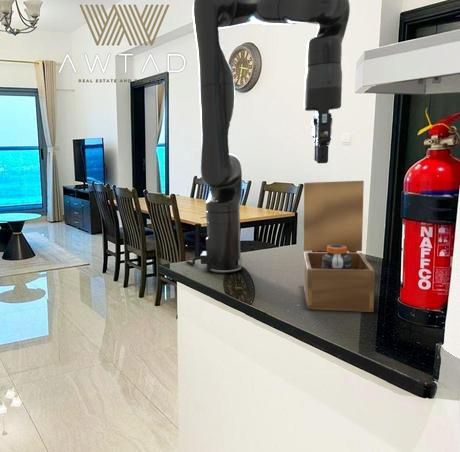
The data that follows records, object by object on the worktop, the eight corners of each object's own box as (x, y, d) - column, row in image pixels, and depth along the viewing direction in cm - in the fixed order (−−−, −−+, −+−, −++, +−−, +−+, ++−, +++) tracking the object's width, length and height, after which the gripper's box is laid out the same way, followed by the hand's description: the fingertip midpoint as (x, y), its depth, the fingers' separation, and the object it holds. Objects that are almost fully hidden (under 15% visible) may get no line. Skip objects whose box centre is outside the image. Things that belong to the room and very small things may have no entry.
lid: (363, 180, 103) (359, 178, 109) (304, 183, 107) (302, 180, 113) (361, 251, 107) (357, 245, 112) (303, 250, 111) (302, 244, 116)
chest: (373, 312, 94) (374, 270, 92) (307, 309, 98) (307, 269, 96) (360, 288, 108) (361, 252, 107) (303, 287, 112) (303, 252, 111)
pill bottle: (347, 300, 99) (348, 249, 97) (318, 296, 103) (318, 247, 101) (353, 293, 104) (354, 244, 102) (325, 289, 107) (325, 242, 105)
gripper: (345, 82, 92) (342, 163, 95) (338, 88, 105) (335, 160, 108) (305, 85, 95) (304, 164, 97) (303, 91, 108) (301, 161, 111)
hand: (320, 162), depth 103 cm, fingers open, 8 cm apart
